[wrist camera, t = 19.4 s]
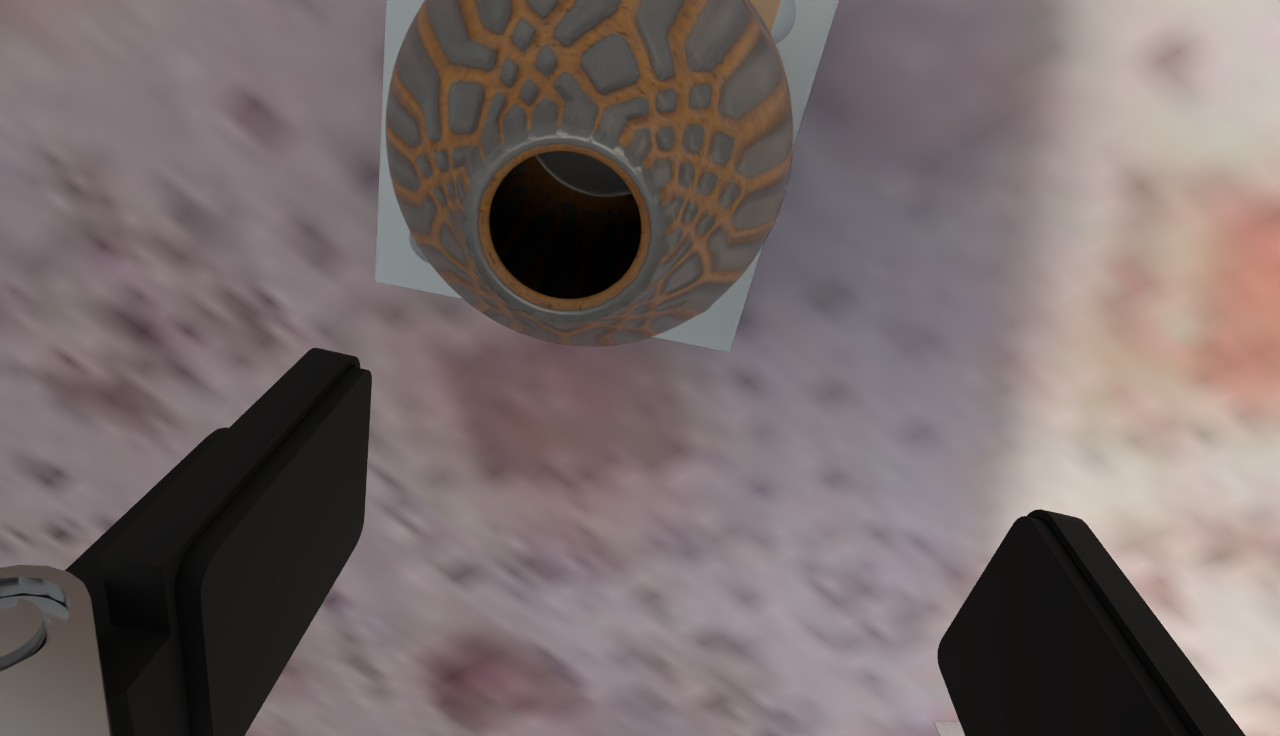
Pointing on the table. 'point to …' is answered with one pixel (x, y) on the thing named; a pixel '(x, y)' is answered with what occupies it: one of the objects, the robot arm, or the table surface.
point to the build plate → (800, 50)
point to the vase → (589, 157)
